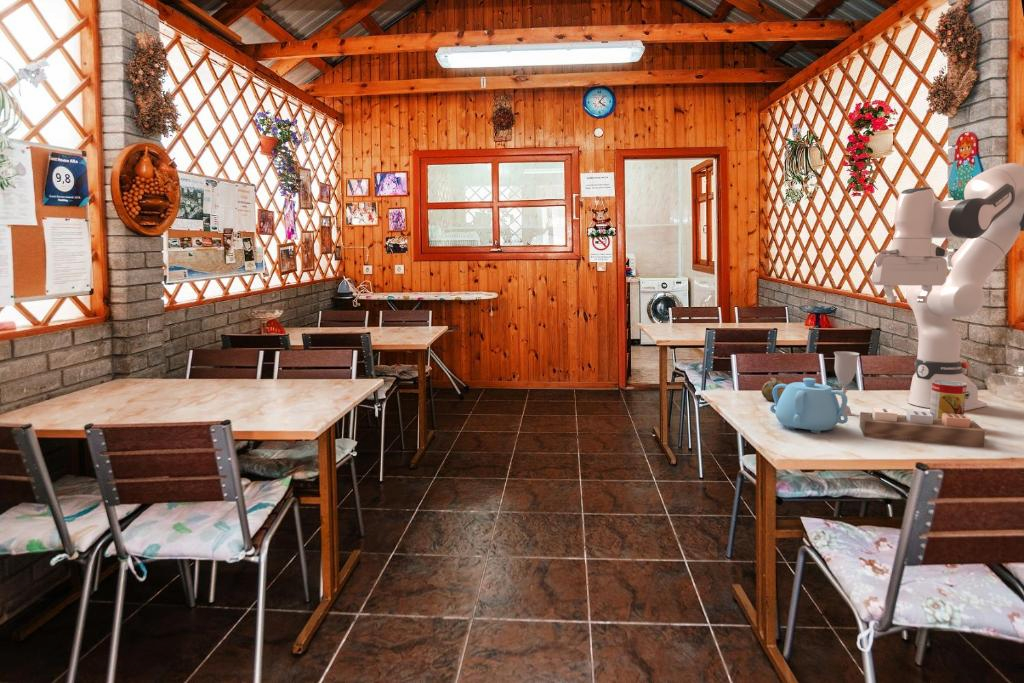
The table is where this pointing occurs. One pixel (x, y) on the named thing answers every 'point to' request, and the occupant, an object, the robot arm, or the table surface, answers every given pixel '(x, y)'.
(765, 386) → the onion
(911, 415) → the tile two
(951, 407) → the canned food
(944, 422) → the tile three
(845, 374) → the chalice
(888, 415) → the tile one
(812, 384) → the decorative pot
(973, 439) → the button board
